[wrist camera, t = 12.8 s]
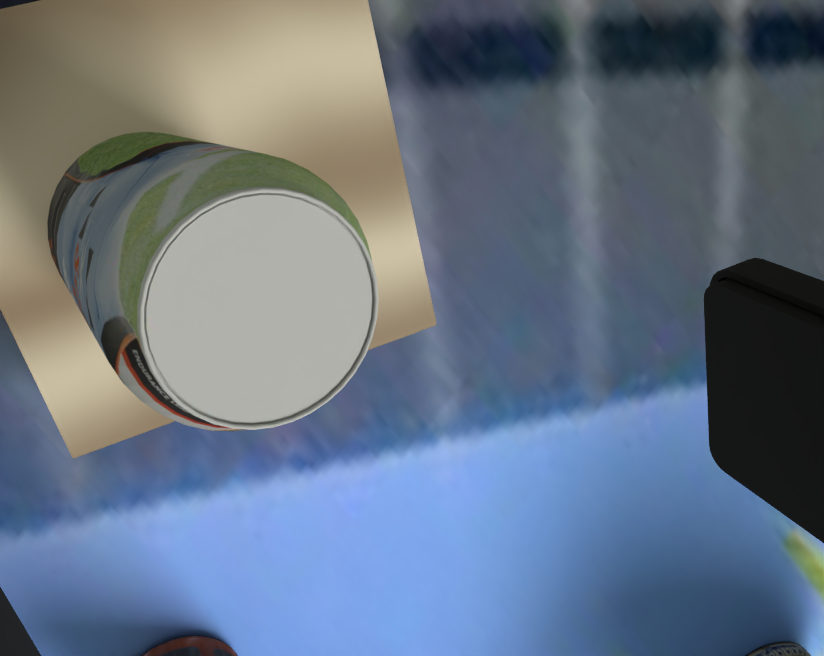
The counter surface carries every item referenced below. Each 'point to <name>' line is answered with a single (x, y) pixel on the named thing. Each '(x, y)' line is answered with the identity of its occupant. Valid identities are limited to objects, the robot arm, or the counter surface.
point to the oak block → (196, 119)
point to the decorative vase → (780, 650)
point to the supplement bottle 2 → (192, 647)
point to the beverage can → (215, 278)
